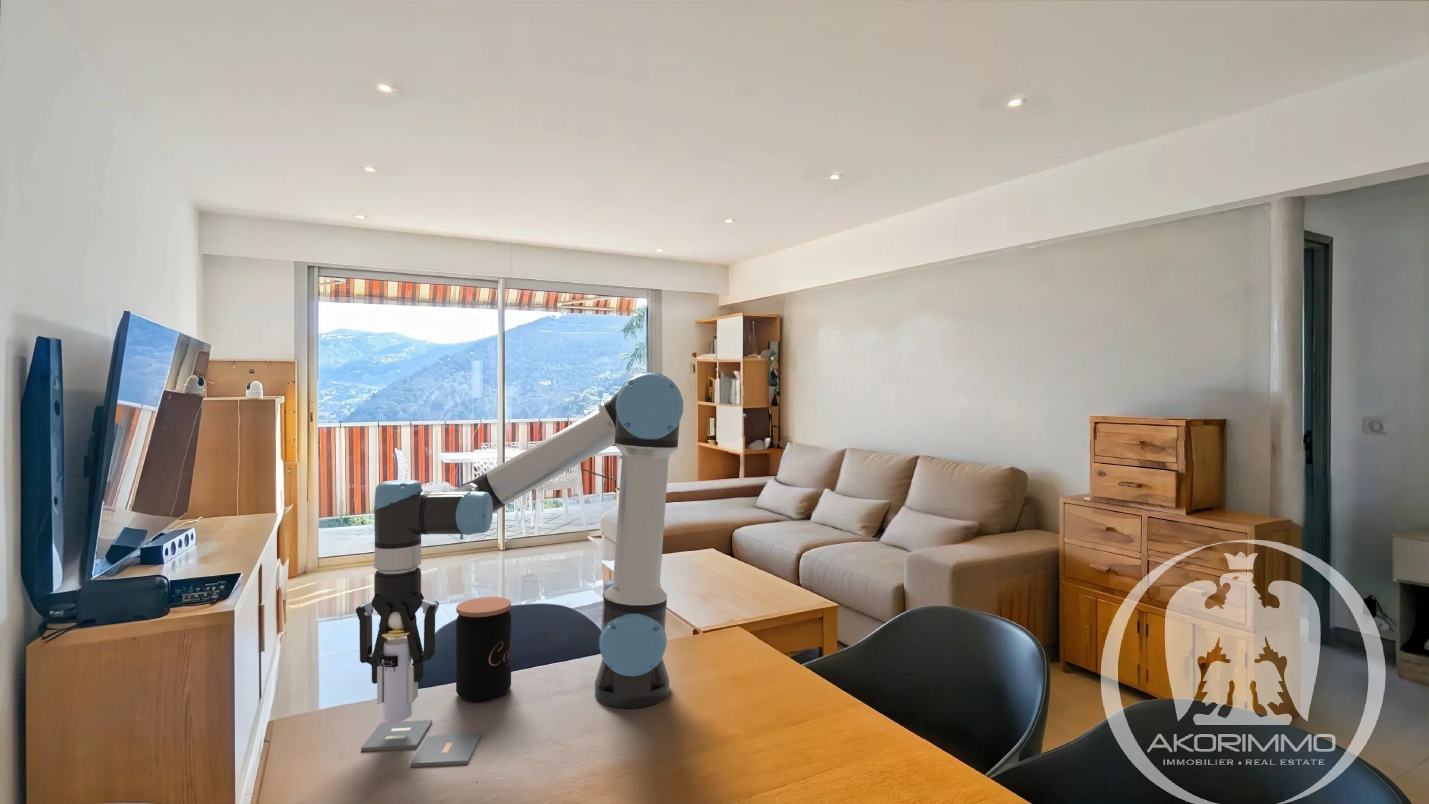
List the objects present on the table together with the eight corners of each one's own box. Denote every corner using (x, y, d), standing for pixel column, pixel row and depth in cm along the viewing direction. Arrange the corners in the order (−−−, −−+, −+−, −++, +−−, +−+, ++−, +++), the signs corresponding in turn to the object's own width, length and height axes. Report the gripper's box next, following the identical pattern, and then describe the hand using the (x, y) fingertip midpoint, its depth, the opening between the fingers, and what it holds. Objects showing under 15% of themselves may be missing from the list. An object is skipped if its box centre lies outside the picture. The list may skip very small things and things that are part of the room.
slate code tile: (432, 723, 126) (432, 719, 126) (416, 748, 117) (416, 744, 117) (381, 725, 125) (381, 722, 125) (361, 751, 116) (361, 747, 116)
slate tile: (480, 736, 121) (480, 733, 121) (467, 763, 112) (467, 760, 112) (427, 739, 120) (427, 735, 120) (410, 767, 111) (410, 763, 111)
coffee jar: (494, 706, 132) (494, 614, 132) (445, 701, 135) (445, 610, 134) (520, 684, 143) (520, 598, 143) (474, 679, 145) (474, 595, 145)
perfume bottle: (398, 710, 124) (398, 601, 124) (422, 716, 122) (423, 605, 122) (372, 724, 119) (372, 610, 119) (396, 730, 117) (397, 614, 117)
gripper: (455, 562, 125) (454, 689, 125) (354, 564, 123) (354, 692, 123) (443, 572, 118) (443, 707, 118) (336, 575, 116) (336, 712, 116)
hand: (397, 699), depth 121 cm, fingers closed on perfume bottle, 4 cm apart
